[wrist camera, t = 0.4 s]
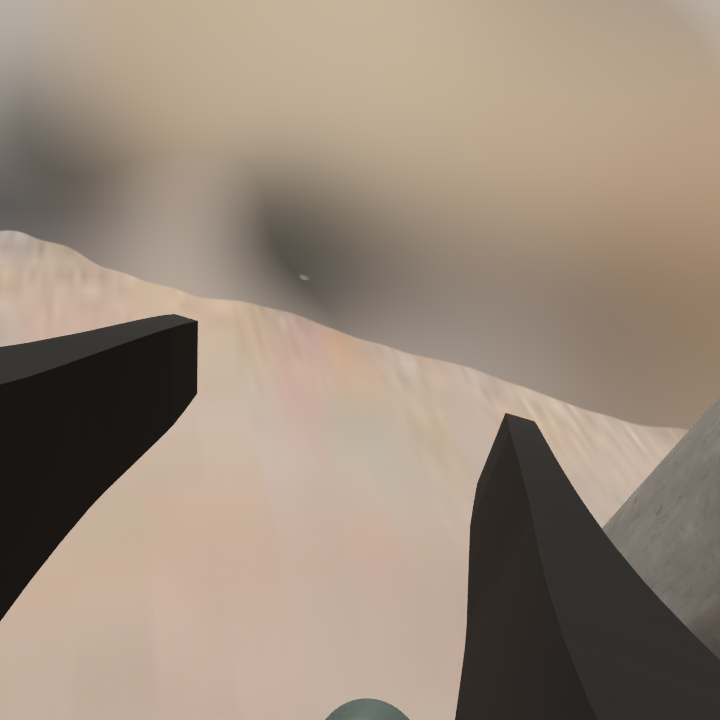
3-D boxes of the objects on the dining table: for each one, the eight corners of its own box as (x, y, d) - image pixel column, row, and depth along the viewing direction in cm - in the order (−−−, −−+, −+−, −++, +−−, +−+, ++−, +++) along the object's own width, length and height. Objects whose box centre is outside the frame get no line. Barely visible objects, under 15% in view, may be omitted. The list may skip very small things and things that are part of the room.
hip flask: (602, 792, 23) (1075, 595, 10) (520, 729, 24) (845, 485, 11) (649, 543, 34) (902, 300, 21) (591, 509, 35) (796, 262, 22)
